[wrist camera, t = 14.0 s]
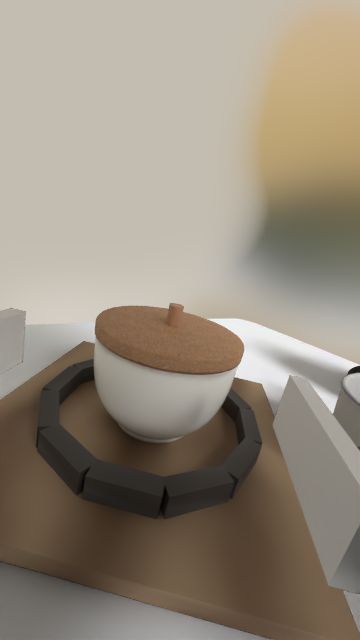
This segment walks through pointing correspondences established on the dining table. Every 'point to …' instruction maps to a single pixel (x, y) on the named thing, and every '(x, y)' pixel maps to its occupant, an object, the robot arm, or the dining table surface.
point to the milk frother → (354, 370)
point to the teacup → (349, 407)
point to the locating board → (175, 553)
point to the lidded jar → (162, 369)
